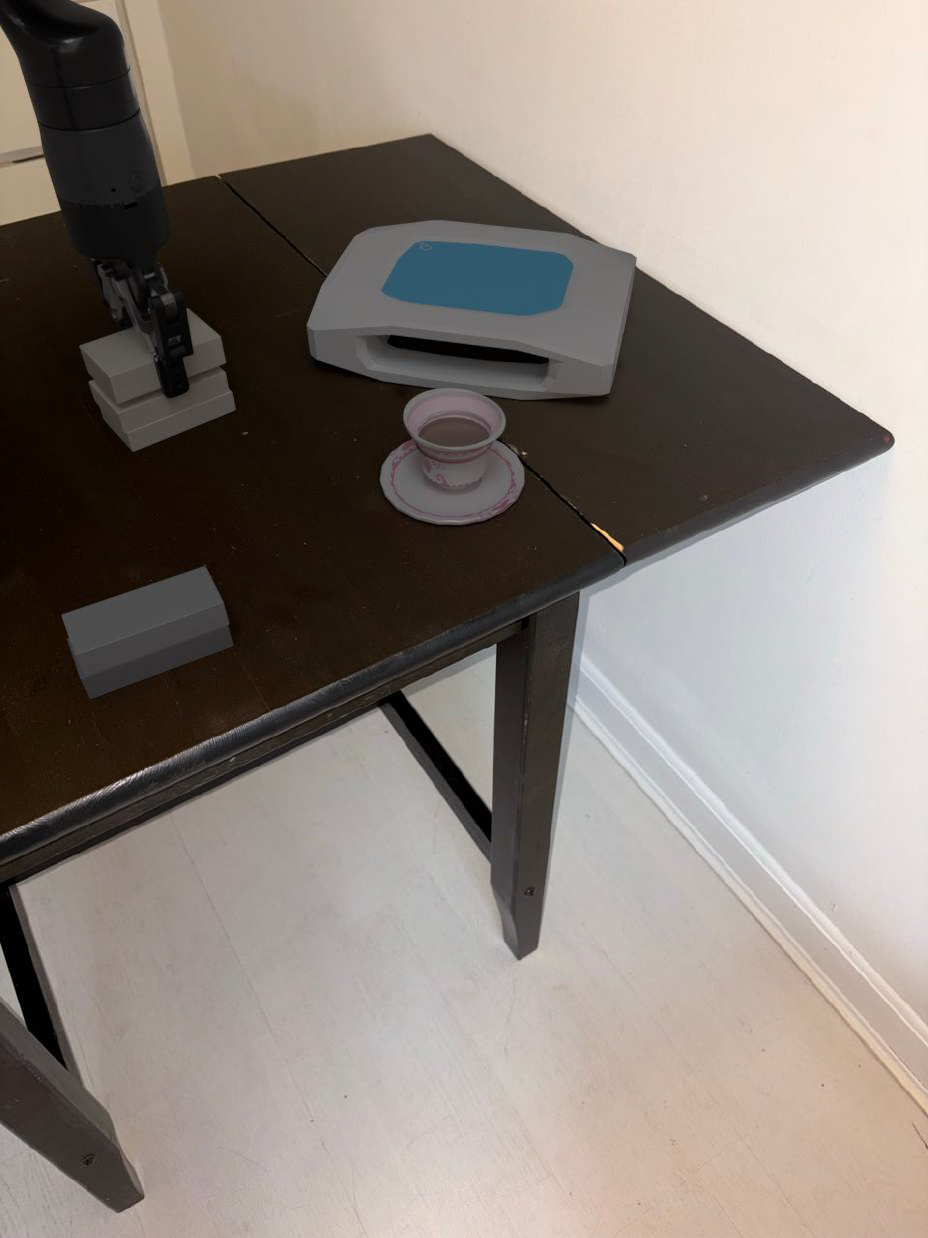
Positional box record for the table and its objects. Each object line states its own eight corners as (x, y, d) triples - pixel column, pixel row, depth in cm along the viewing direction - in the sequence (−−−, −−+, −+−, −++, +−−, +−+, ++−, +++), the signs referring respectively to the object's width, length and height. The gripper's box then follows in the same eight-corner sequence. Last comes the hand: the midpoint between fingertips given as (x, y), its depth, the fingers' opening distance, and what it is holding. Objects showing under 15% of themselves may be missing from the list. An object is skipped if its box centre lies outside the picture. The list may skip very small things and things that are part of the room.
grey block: (130, 453, 81) (118, 414, 78) (101, 420, 85) (88, 381, 82) (236, 410, 86) (228, 371, 83) (204, 380, 89) (195, 342, 86)
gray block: (90, 699, 63) (70, 657, 60) (76, 659, 66) (56, 616, 62) (235, 645, 66) (223, 602, 63) (217, 609, 69) (205, 565, 66)
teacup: (554, 481, 79) (560, 419, 74) (448, 549, 73) (447, 486, 69) (456, 419, 85) (455, 358, 80) (350, 477, 79) (343, 415, 75)
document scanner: (606, 412, 85) (614, 351, 81) (310, 373, 90) (301, 312, 85) (631, 297, 99) (639, 238, 95) (374, 267, 104) (369, 210, 99)
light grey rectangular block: (117, 404, 78) (109, 377, 76) (87, 372, 81) (78, 345, 79) (226, 363, 82) (221, 336, 80) (194, 334, 85) (187, 307, 83)
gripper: (19, 159, 72) (84, 355, 84) (98, 227, 64) (156, 431, 77) (113, 135, 75) (162, 328, 88) (198, 197, 68) (239, 398, 80)
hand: (159, 375), depth 82 cm, fingers closed on light grey rectangular block, 6 cm apart
